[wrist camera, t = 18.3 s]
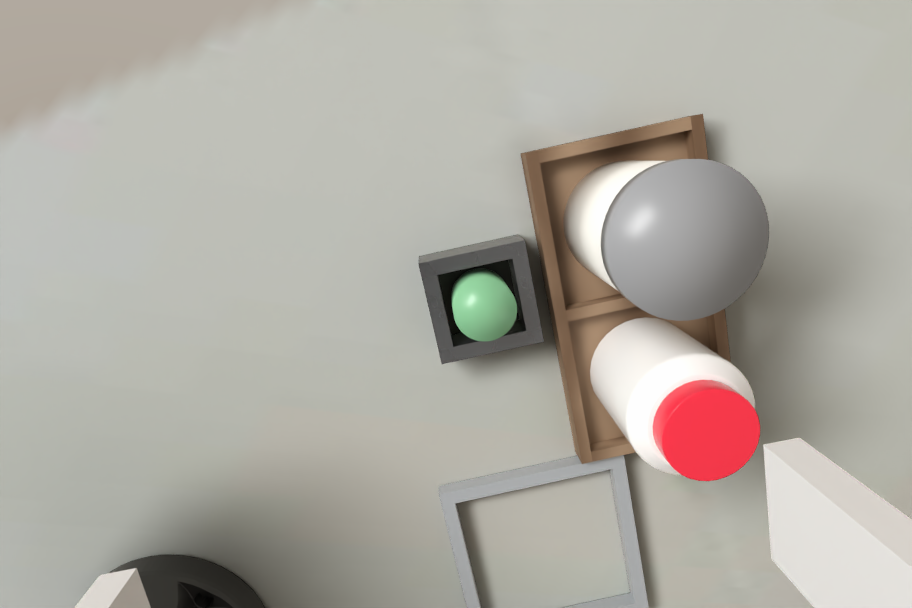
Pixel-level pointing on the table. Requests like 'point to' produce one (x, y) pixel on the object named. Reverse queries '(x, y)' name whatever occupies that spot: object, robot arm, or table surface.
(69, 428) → the table surface
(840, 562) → the robot arm
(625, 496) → the tray
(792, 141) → the table surface
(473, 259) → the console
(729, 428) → the pill bottle
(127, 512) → the table surface
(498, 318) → the button
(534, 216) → the brown divided tray
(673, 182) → the seated part
